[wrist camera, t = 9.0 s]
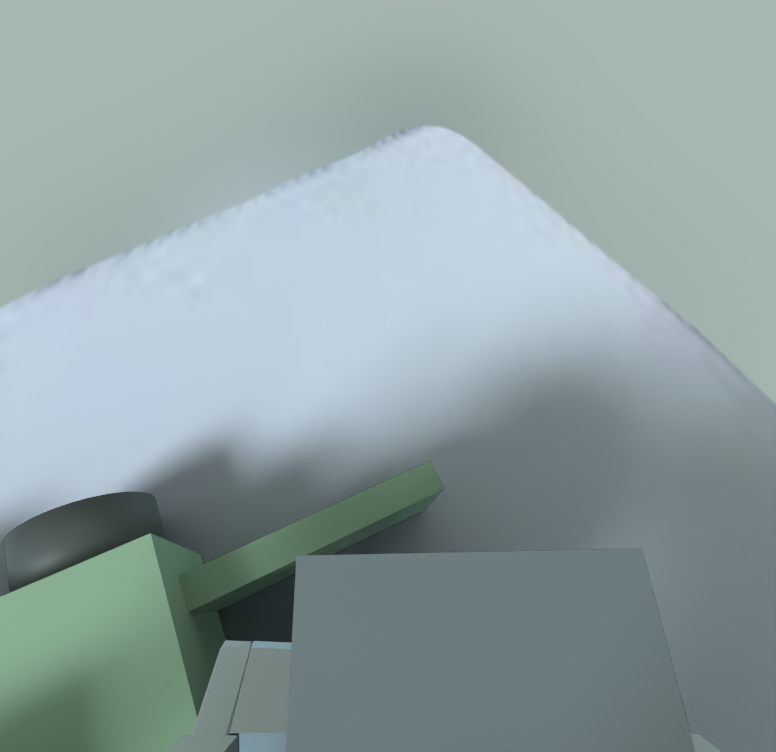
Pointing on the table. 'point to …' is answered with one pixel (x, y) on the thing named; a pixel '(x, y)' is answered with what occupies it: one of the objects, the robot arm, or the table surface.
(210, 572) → the green toy forklift
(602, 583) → the tall gray column
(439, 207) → the table surface
